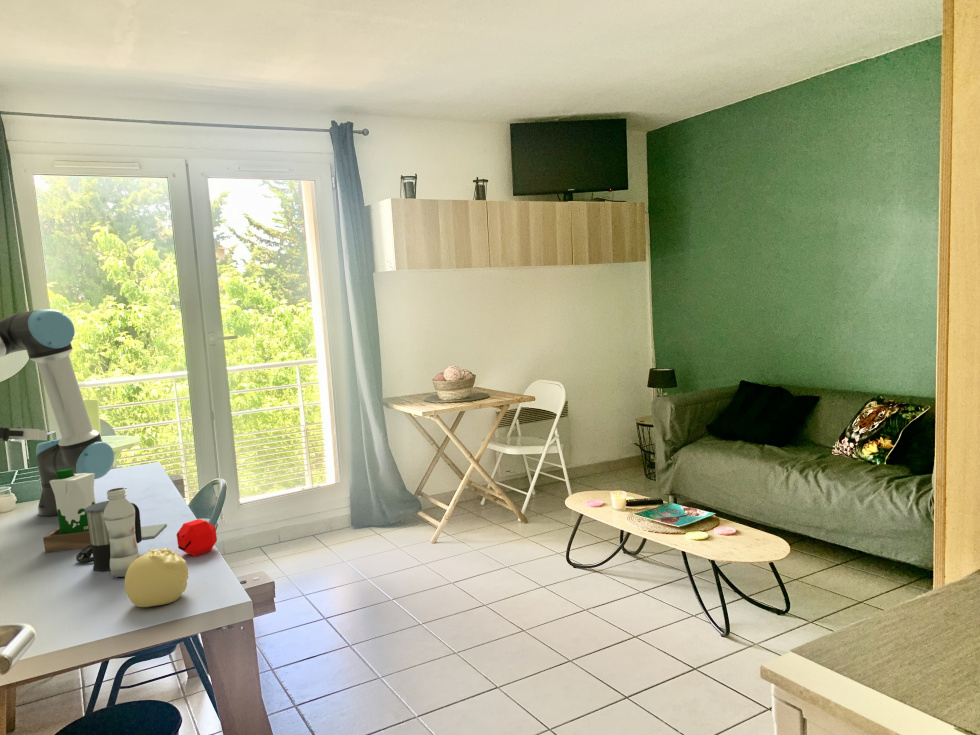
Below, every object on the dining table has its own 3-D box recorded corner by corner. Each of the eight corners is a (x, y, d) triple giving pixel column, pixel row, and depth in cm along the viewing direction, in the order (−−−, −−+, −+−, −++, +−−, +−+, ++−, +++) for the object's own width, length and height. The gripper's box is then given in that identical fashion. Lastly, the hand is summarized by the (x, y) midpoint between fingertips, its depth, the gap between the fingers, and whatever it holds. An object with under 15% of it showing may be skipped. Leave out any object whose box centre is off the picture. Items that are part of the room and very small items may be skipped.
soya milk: (79, 536, 204) (69, 466, 202) (107, 535, 202) (97, 464, 200) (55, 547, 195) (44, 474, 193) (84, 546, 193) (73, 472, 192)
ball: (175, 555, 180) (171, 524, 179) (206, 544, 186) (202, 515, 185) (191, 560, 174) (187, 529, 174) (222, 549, 180) (218, 519, 180)
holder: (66, 537, 204) (64, 523, 204) (115, 531, 206) (113, 517, 206) (45, 552, 191) (43, 537, 191) (97, 545, 193) (95, 531, 193)
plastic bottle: (120, 570, 171) (108, 487, 170) (148, 568, 171) (137, 484, 169) (105, 581, 165) (93, 494, 163) (134, 579, 165) (122, 492, 163)
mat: (125, 530, 205) (125, 528, 205) (166, 525, 207) (166, 523, 207) (111, 543, 194) (110, 541, 194) (154, 537, 196) (154, 535, 196)
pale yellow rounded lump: (197, 600, 149) (191, 548, 148) (133, 619, 142) (125, 565, 141) (184, 585, 158) (178, 536, 157) (123, 602, 151) (116, 551, 150)
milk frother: (125, 569, 172) (117, 508, 171) (56, 576, 171) (47, 515, 170) (149, 549, 186) (142, 492, 185) (86, 555, 185) (77, 498, 184)
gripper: (-41, 446, 201) (49, 449, 209) (-68, 446, 178) (33, 448, 186) (-38, 419, 202) (51, 422, 210) (-65, 415, 179) (36, 419, 187)
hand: (43, 434), depth 198 cm, fingers open, 13 cm apart
